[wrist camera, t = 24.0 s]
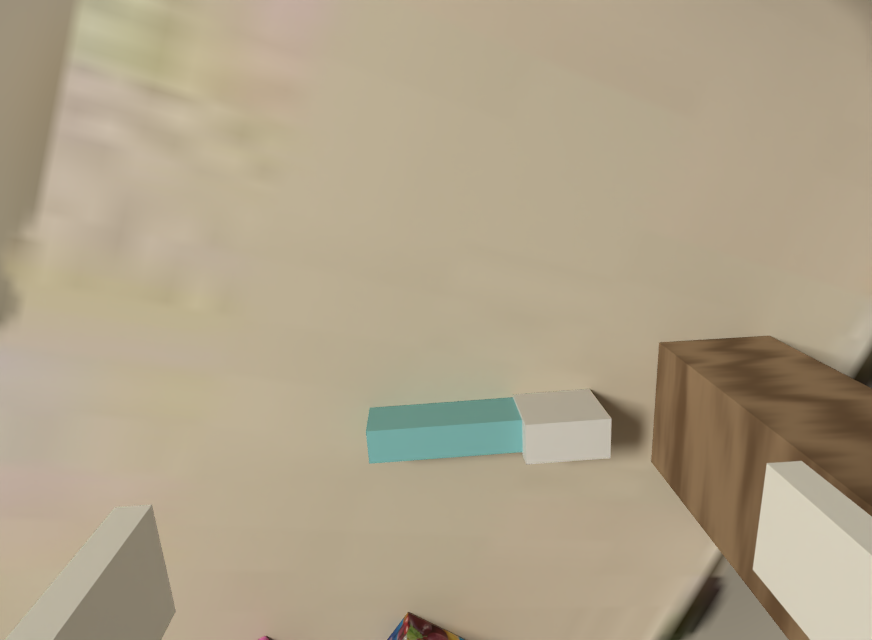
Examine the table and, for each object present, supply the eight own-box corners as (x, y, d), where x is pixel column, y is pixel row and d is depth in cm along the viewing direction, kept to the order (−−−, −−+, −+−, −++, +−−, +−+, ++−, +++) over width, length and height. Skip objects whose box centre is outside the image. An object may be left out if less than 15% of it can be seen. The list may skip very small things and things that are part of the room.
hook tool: (373, 440, 52) (368, 476, 47) (369, 404, 51) (364, 437, 45) (588, 424, 53) (610, 458, 47) (589, 388, 52) (611, 418, 46)
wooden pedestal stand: (630, 472, 54) (982, 990, 21) (637, 333, 50) (1089, 697, 17) (763, 463, 55) (1321, 958, 21) (781, 324, 51) (1506, 663, 17)
